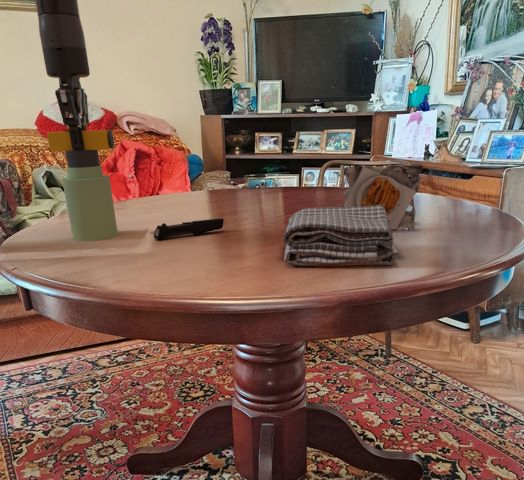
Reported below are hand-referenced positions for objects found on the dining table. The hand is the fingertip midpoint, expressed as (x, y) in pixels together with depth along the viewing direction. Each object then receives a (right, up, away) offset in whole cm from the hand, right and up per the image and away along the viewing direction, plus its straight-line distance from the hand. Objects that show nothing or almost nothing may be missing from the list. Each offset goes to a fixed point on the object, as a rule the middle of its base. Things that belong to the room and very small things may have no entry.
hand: (81, 149), depth 99 cm
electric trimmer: (+19, -14, +11) cm, 27 cm away
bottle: (+1, -17, +7) cm, 18 cm away
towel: (+48, -23, -10) cm, 55 cm away
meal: (+60, -14, +9) cm, 62 cm away
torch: (0, 0, 0) cm, 0 cm away
